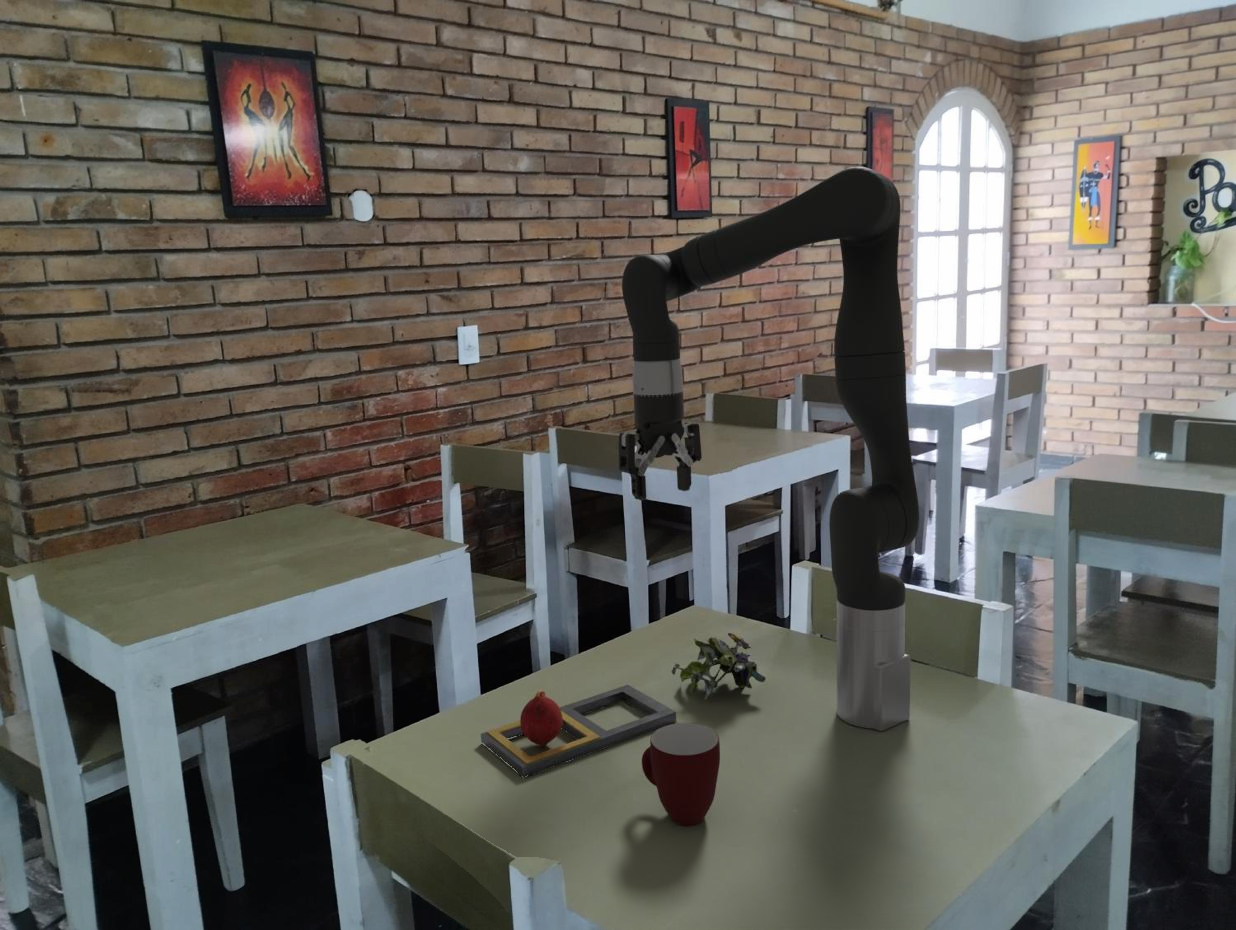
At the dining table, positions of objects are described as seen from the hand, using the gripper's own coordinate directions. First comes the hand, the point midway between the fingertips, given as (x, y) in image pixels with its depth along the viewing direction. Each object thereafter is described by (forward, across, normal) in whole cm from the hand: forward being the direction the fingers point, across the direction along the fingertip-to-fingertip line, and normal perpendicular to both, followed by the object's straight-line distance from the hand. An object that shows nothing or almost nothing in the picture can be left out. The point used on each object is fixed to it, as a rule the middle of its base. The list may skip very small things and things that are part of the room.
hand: (662, 494), depth 148 cm
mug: (+30, -24, -32) cm, 50 cm away
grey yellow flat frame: (+30, -22, -7) cm, 37 cm away
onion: (+30, -28, -7) cm, 41 cm away
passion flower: (+30, +1, -10) cm, 32 cm away
